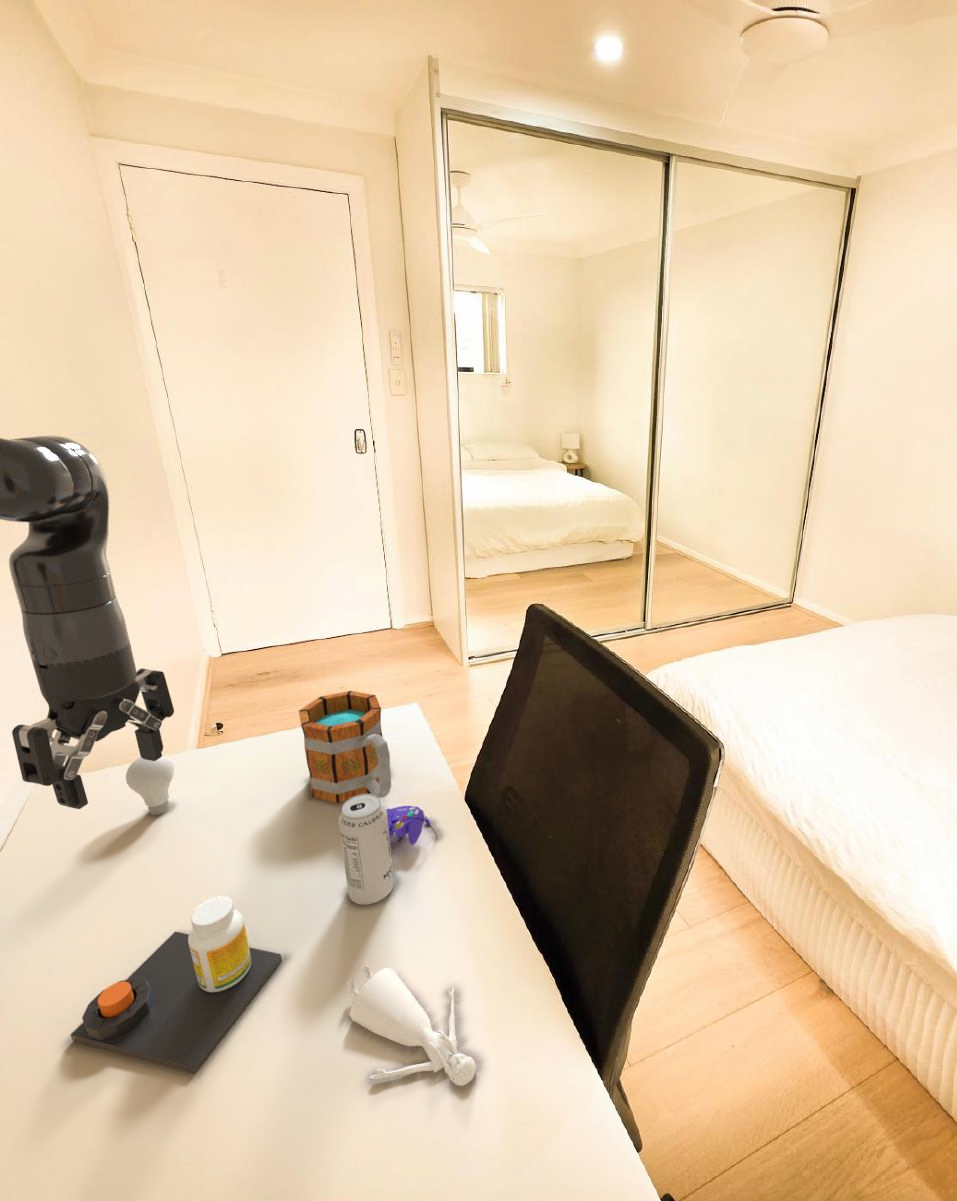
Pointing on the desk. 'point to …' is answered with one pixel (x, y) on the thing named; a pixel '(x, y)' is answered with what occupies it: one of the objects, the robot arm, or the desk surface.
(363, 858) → the energy drink can
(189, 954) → the scale
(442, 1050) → the woman figurine
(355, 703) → the mug
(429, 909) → the desk surface
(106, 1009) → the button
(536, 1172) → the desk surface
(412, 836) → the game controller
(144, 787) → the lightbulb
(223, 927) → the supplement bottle
